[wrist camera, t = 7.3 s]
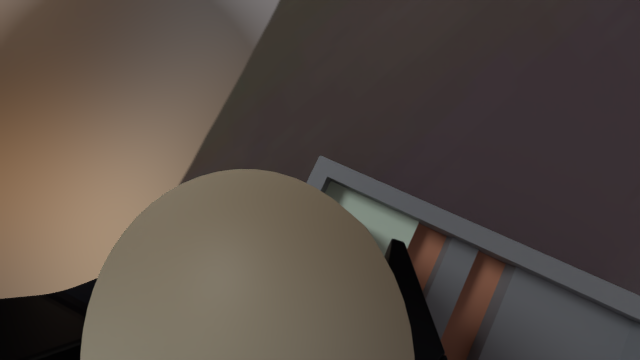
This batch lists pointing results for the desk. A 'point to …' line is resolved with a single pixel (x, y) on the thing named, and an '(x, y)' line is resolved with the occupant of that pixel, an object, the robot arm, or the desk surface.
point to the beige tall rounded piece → (246, 279)
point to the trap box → (490, 281)
